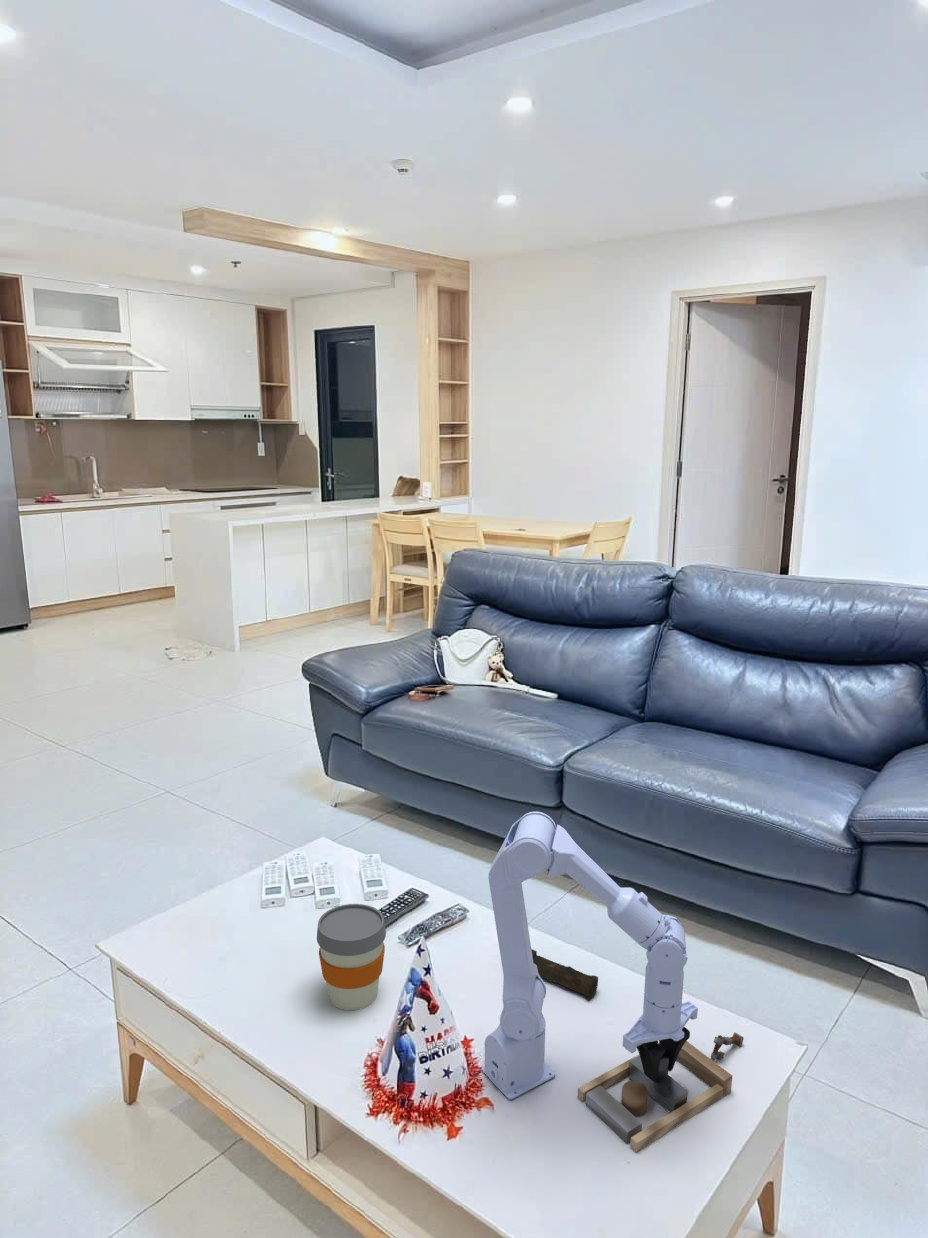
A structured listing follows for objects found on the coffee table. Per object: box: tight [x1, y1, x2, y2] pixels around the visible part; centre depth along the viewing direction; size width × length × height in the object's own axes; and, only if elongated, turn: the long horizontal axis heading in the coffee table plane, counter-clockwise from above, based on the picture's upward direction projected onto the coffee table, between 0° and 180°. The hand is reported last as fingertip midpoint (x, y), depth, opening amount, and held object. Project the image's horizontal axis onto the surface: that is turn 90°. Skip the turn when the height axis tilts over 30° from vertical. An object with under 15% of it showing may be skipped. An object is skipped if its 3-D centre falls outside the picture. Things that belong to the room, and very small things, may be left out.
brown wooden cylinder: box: [620, 1080, 649, 1118], centre depth 134 cm, size 4×4×3 cm
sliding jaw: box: [628, 1051, 689, 1114], centre depth 136 cm, size 3×10×7 cm, turn 34°
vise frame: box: [577, 1040, 733, 1153], centre depth 136 cm, size 21×13×3 cm, turn 124°
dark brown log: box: [531, 948, 599, 1001], centre depth 165 cm, size 19×4×5 cm, turn 54°
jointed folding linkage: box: [709, 1032, 745, 1063], centre depth 145 cm, size 2×8×4 cm, turn 130°
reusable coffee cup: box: [316, 903, 387, 1011], centre depth 158 cm, size 13×13×15 cm
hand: (658, 1071), depth 136 cm, fingers closed on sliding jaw, 3 cm apart
